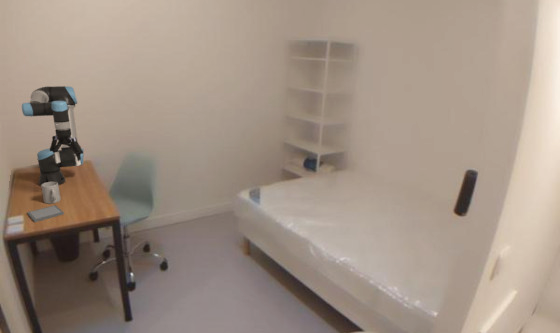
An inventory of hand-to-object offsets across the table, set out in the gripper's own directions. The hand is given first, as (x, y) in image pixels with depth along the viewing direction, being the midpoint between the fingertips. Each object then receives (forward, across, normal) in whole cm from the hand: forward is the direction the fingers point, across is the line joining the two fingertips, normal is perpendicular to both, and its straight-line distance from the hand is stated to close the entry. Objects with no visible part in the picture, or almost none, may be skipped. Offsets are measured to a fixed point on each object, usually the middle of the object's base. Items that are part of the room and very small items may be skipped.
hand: (68, 164), depth 204 cm
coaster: (+23, -1, -20) cm, 31 cm away
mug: (+24, -10, -5) cm, 26 cm away
